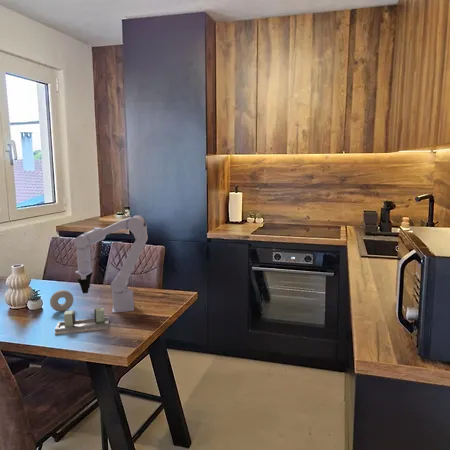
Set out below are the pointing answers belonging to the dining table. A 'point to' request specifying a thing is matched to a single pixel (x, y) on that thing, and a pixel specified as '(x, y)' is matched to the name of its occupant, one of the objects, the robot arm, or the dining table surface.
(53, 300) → the donut
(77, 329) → the tray
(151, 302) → the dining table surface
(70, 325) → the pale green cuboid
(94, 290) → the dining table surface
